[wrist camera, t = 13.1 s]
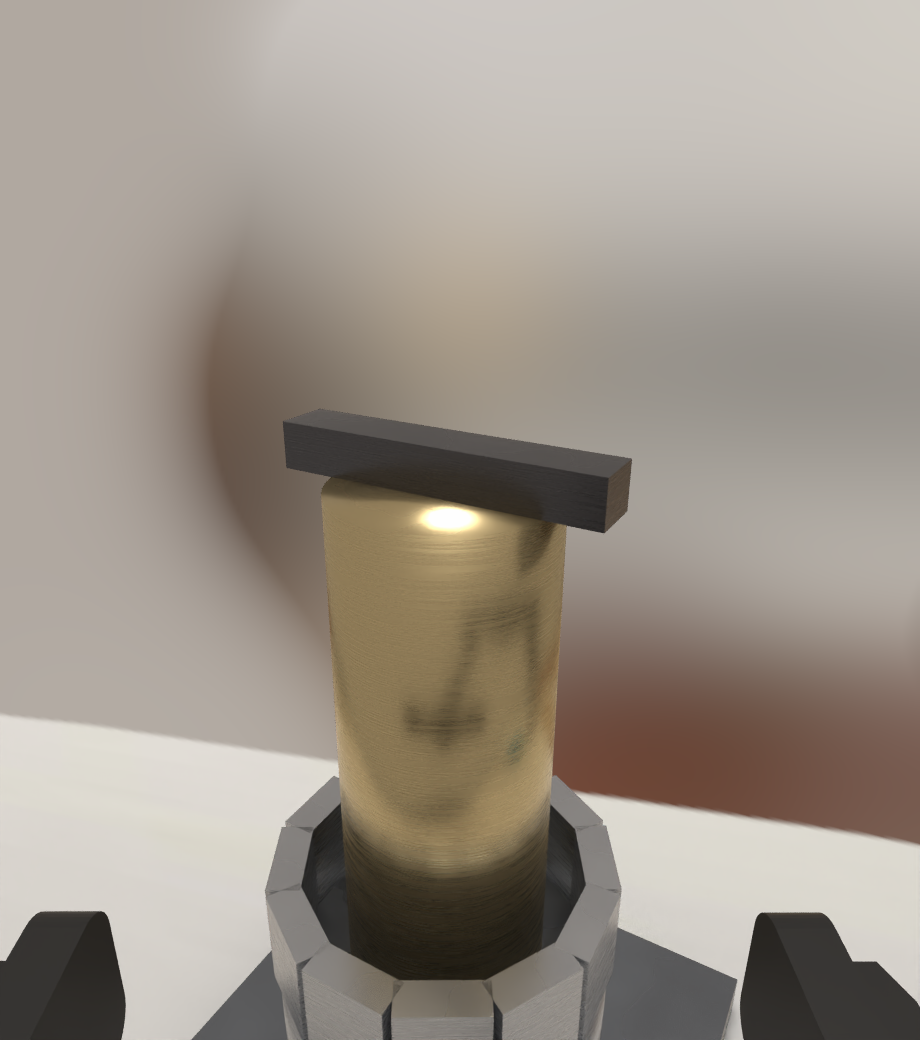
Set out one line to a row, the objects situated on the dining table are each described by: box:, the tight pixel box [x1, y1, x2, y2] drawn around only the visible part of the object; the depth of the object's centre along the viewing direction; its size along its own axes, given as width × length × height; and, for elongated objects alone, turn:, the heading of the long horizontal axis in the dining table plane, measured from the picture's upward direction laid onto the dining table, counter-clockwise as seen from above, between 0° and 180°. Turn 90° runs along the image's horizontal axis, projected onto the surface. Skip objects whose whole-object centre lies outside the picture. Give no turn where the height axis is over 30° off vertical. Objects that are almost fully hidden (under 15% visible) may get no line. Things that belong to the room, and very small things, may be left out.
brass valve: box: [283, 409, 632, 980], centre depth 18 cm, size 5×7×13 cm
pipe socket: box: [192, 775, 737, 1040], centre depth 21 cm, size 13×13×8 cm
